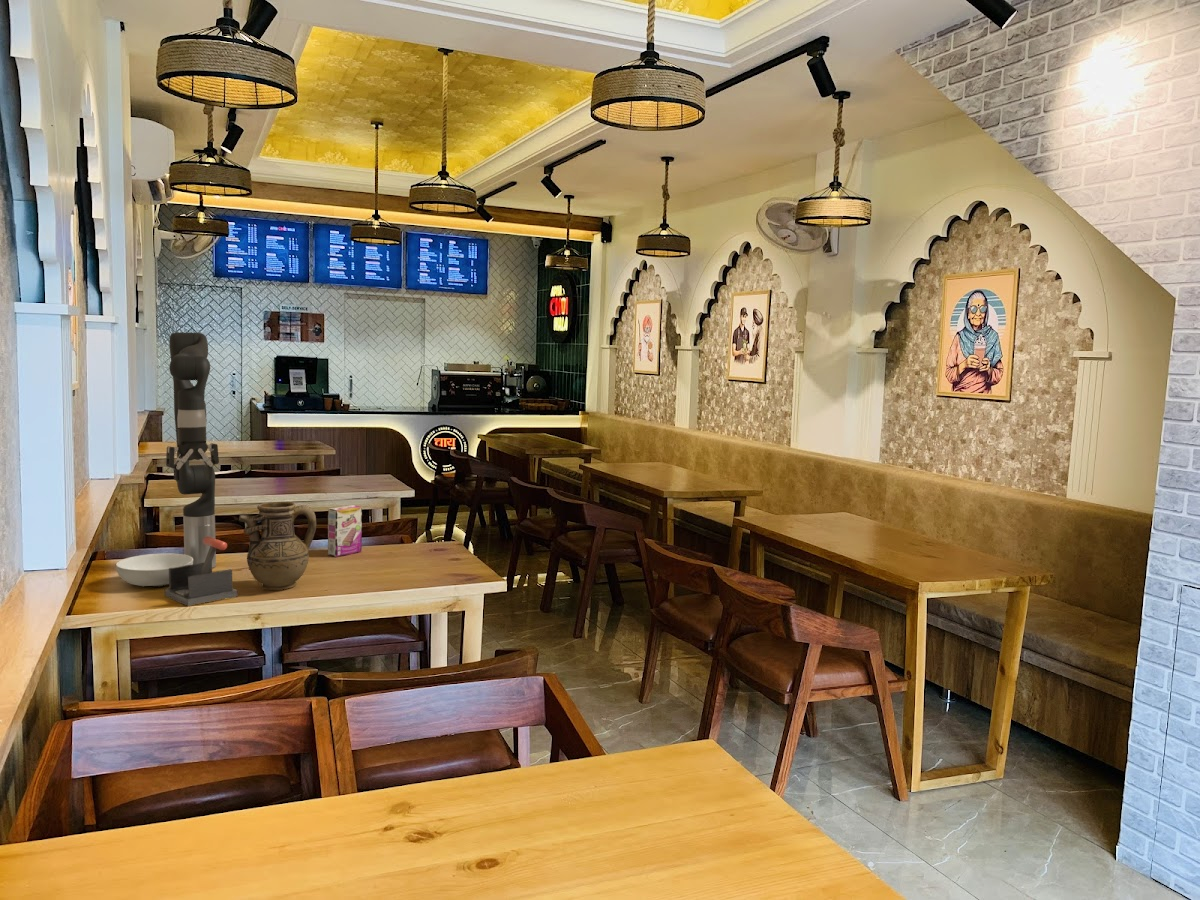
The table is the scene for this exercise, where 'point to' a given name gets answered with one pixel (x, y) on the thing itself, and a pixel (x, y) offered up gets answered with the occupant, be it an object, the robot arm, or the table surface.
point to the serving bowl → (150, 568)
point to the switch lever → (211, 551)
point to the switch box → (199, 584)
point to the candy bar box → (344, 530)
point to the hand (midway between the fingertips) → (193, 480)
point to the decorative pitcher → (278, 544)
